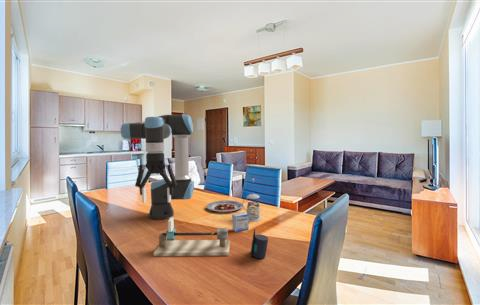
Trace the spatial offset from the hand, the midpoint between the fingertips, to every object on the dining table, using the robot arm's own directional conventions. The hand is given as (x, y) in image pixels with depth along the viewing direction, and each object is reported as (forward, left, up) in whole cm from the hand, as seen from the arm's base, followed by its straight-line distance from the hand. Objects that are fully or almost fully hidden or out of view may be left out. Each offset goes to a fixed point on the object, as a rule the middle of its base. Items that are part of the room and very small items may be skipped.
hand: (156, 201), depth 106 cm
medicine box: (+37, +22, -22) cm, 48 cm away
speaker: (+45, -6, -22) cm, 50 cm away
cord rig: (+16, 0, -22) cm, 27 cm away
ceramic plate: (+26, +61, -22) cm, 70 cm away
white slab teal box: (+6, 0, -17) cm, 18 cm away
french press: (+44, +39, -22) cm, 63 cm away
